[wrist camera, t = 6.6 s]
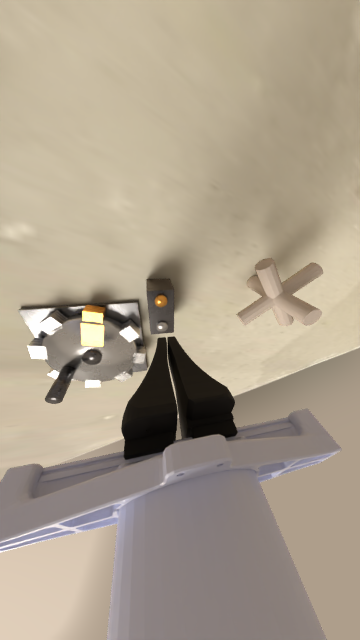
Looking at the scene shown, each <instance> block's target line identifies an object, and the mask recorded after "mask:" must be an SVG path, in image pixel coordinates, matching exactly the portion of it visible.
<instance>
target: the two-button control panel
mask: <svg viewBox="0 0 360 640" xmlns="http://www.w3.org/2000/svg"><path fill="white" fill-rule="evenodd" d="M147 300H148V310H149V320H150V331H151V334H161V333H172V332H174V289H173V286H172V283H171V281H170V279H147Z"/></svg>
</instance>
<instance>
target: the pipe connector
mask: <svg viewBox="0 0 360 640" xmlns="http://www.w3.org/2000/svg"><path fill="white" fill-rule="evenodd" d="M255 270H256V272H257V275H258V277H257V276H252V277H251V278H249V280H248V281H247V286H248V287H249V288H251V289H252V290H254V291H255V292H257V293H258V294H260V295H261V296H262V297H261V298H259V299H258V300H256V301H255V302H254V303H252V304H251V305H249V306H248V307H246V308H245V309H243V310H242V311H241V312H239V313H238V314H236V315H237V316H238V318H239V319H240V320H241V322H242V323H243V324H244V325H246V324H248V323H249V322H251V321H252V320H254V319H256V318H257V317H259V316H260V315H262V314H263V313H265V312H266V311H268V310H269V309H271V308H272V309H273V312H274V314H275V316H276V319H277V321H278V323H279V325H282V326H288V325H291V324H292V323H293V317H294V318H295V319H297V320H298V321H300V322H301V323H303V324H304V325H311V324H313V323H315V322H316V321H317V320H318V319H319V318H320V317H321V314H322V312H321V310H319V309H317V308H316V307H314V306H312V305H310V304H308V303H306V302H304V301H302V300H300V299H299V298H297V297H295V296H293V295H292V294H293V293H295V292H296V291H298V290H299V289H301V288H302V287H304V286H305V285H307V284H308V283H310V282H311V281H313V280H314V279H316V278H317V277H319V276H320V275H322V274H323V270H322V268H321V267H320V266H319V265H318V264H316V263H310V264H309V265H307V266H306V267H304V268H303V269H301V270H300V271H299V272H297V273H296V274H294V275H293V276H291V277H290V278H288V279H287V280H285V281H284V282H283V283H281V281H280V278H279V275H278V272H277V269H276V266H275V263H274V260H273V259H272V258H267V259H263V260H261V261H260V262H258V263H257V264H256V265H255Z"/></svg>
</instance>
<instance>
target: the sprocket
mask: <svg viewBox="0 0 360 640" xmlns="http://www.w3.org/2000/svg"><path fill="white" fill-rule="evenodd" d="M105 312H106V308H105V307H98V306H92V305H86V306H85V308H84V309H83V311H82V315H75V316H71V317H68V318H67V317H65V316H64V315H63V314H62V313H60V312H59V311H58V310H56V311H55V312H53V313H52V314H50V315H49V316H47V317H46V318H44V319H43V320H42V321H41V322H40V323H39V324H38V325H37V327H39V328H40V329H42V330H43V331H45V332H46V333H48V334H47V335H46V336H45V338H35V339H34V340H33V341H32V342H31V343H30V344H29V345H28V348H29V352H30V355H31V358H38V359H45V361H46V362H47V364H48V365H49V366H50V367H51V370H50V371H49V373H48V375H49V376H51V377H53V378H55V379H56V380H55V381H54V383H53V385H52V387H51V389H50V390H49V392H48V394H47V396H46V398H45V401H46V402H48V403H52V404H57V403H60V402H62V400H63V398H64V396H65V394H66V391H67V389H68V387H69V385H70V383H71V380H72V379H74V380H78V381H84V382H85V386H86V387H100V386H101V383H102V382H104V381H109V380H113V379H117V380H119V381H120V382H123V381H125V380H127V379H129V378H131V377H132V373H133V369H132V367H133V365H134V363H139V364H144V360H145V355H146V347H143V346H137V343H136V340H135V339H136V338H138V337H140V329H139V328H138V327H137V326H136V325H135V324H134V323H133V322H132V321H131V320H129V321H128V322H126V323H124V324H123V325H122V324H121V323H119V322H117V321H116V320H113V319H111V318H108V317H105Z"/></svg>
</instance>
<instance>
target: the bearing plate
mask: <svg viewBox="0 0 360 640" xmlns="http://www.w3.org/2000/svg"><path fill="white" fill-rule="evenodd" d="M86 305H92V306H98V307H105V308H106V312H105V317H108V318H111V319H113V320H116V321H117V322H119V323H121V324H122V325H123V324H124V323H126V322H128V321H129V320H131V321H132V322H133V323H134V324H135V325H136V326H137V327H138V328H139V329H140V337H138V338H136V339H135V340H136V343H137V346H143V347H144V342H143V335H142V329H141V322H140V315H139V308H138V301H134V302H117V303H101V304H85V305H69V306H52V307H36V308H21V309H19V310H18V312H19V313H20V315H21V316H22V318H23V319H24V321H25V322H26V324H27V325H28V327H29V328H30V330H31V332H32V333H33V335H34V336H35V338H45V336H46V335H47V334H48V333H46V332H45V331H43V330H42V329H40V328H39V327H37V325H38V324H39V323H40V322H41V321H42V320H43V319H44V318H46V317H47V316H49V315H50V314H52V313H53V312H55V311H56V310H58V311H59V312H60V313H62V314H63V315H64V316H65V317H67V318H68V317H71V316H75V315H82V311H83V309H84V308H85V306H86ZM132 369H133V372H138V371H145V370H147V363H146V356H145V360H144V364H139V363H134V365H133V367H132ZM72 380H74V379H72Z"/></svg>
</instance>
